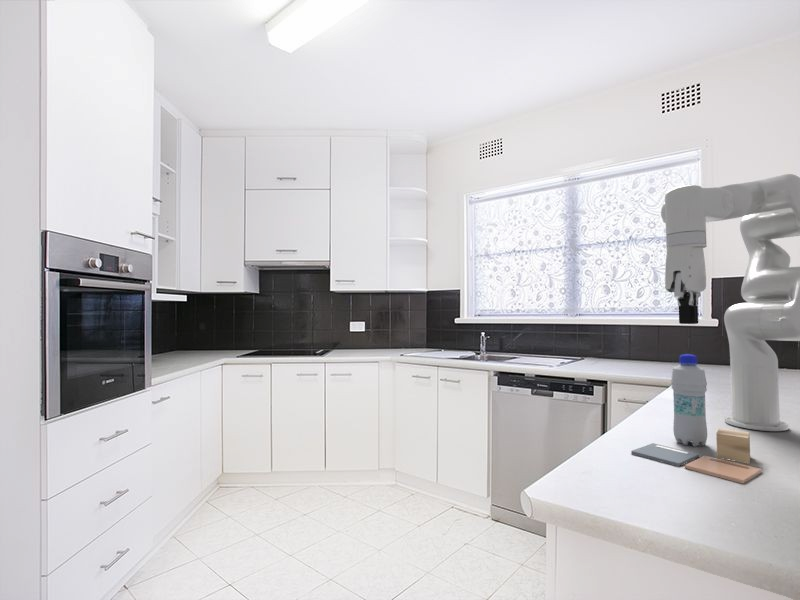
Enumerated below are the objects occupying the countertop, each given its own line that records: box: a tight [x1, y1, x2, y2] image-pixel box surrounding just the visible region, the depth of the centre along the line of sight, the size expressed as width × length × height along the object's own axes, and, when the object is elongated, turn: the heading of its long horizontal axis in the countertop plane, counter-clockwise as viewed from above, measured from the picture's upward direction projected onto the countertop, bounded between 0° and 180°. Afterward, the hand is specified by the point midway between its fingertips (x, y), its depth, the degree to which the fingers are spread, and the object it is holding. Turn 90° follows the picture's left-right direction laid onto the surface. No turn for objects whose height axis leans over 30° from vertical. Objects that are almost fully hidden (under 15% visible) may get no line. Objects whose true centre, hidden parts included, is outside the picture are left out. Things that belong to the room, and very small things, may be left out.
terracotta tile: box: [684, 455, 763, 484], centre depth 79 cm, size 9×9×1 cm
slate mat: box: [630, 442, 700, 467], centre depth 88 cm, size 9×9×1 cm
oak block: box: [716, 428, 751, 465], centre depth 86 cm, size 5×5×5 cm
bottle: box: [670, 353, 708, 447], centre depth 96 cm, size 7×7×20 cm
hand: (688, 323), depth 96 cm, fingers closed
